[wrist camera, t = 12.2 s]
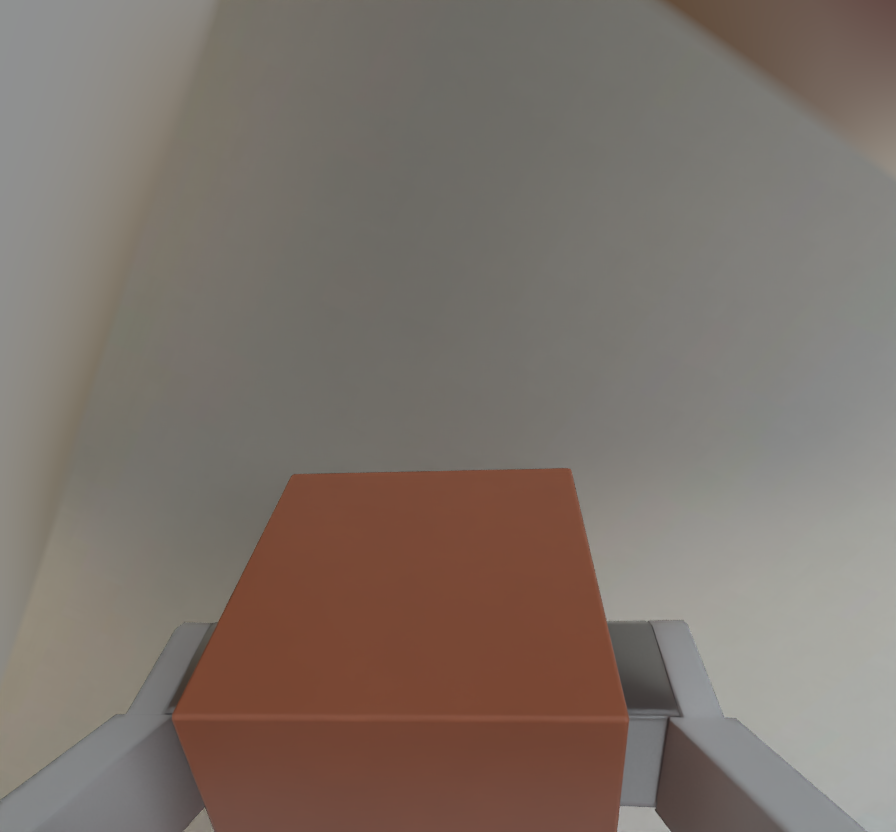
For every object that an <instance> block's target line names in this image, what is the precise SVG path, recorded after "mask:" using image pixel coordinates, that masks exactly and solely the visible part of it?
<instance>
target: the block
mask: <svg viewBox="0 0 896 832" xmlns="http://www.w3.org/2000/svg"><path fill="white" fill-rule="evenodd" d="M172 722H173V725H174V727H175V730H176V732H177V735H178V738H179V740H180V743H181V745H182V748H183V751H184V753H185V756H186V759H187V761H188V764H189V766H190V769H191V772H192V774H193V777H194V779H195V782H196V785H197V787H198V790H199V792H200V795H201V798H202V800H203V803H204V805H205V808H206V811H207V813H208V816H209V819H210V821H211V824H212V826H213V829H214V832H617V826H618V817H619V808H620V799H621V790H622V781H623V772H624V764H625V755H626V746H627V737H628V728H629V715H628V711H627V706H626V702H625V698H624V693H623V689H622V685H621V681H620V676H619V672H618V668H617V663H616V659H615V655H614V651H613V646H612V642H611V638H610V634H609V629H608V625H607V621H606V616H605V612H604V608H603V604H602V599H601V595H600V591H599V586H598V582H597V578H596V574H595V569H594V565H593V561H592V557H591V552H590V548H589V544H588V539H587V535H586V531H585V527H584V522H583V518H582V514H581V509H580V505H579V501H578V497H577V492H576V488H575V484H574V480H573V475H572V471H571V469H569V468H553V469H508V470H462V471H416V472H370V473H324V474H294V475H292V476H291V477H290V479H289V481H288V483H287V485H286V487H285V489H284V491H283V493H282V495H281V497H280V499H279V501H278V503H277V505H276V507H275V509H274V511H273V513H272V515H271V517H270V519H269V521H268V523H267V525H266V527H265V529H264V531H263V533H262V535H261V537H260V539H259V541H258V543H257V545H256V547H255V549H254V551H253V553H252V555H251V557H250V559H249V561H248V563H247V565H246V567H245V569H244V571H243V573H242V575H241V577H240V579H239V581H238V583H237V585H236V587H235V589H234V591H233V593H232V595H231V597H230V599H229V601H228V603H227V606H226V608H225V610H224V612H223V614H222V616H221V618H220V620H219V622H218V624H217V626H216V628H215V630H214V632H213V634H212V636H211V638H210V640H209V642H208V644H207V646H206V648H205V650H204V652H203V654H202V656H201V658H200V660H199V662H198V664H197V666H196V668H195V670H194V672H193V674H192V676H191V678H190V680H189V682H188V684H187V686H186V688H185V690H184V692H183V694H182V696H181V698H180V700H179V702H178V704H177V706H176V708H175V710H174V712H173V714H172Z"/></svg>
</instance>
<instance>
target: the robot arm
mask: <svg viewBox="0 0 896 832" xmlns="http://www.w3.org/2000/svg"><path fill="white" fill-rule="evenodd" d="M217 624H218V622H215V623H197V622H184V623H182V624H181V625H180V626H179V627H177V628H176V629H175V630H174V632H173V634H172V635H171V637H170V639H169V641H168V642H167V644H166V646H165V647H164V649H163V651H162V653H161V654H160V656H159V658H158V660H157V661H156V663H155V665H154V666H153V668H152V670H151V672H150V673H149V675H148V677H147V679H146V680H145V682H144V684H143V685H142V687H141V689H140V691H139V692H138V694H137V696H136V698H135V699H134V701H133V703H132V704H131V706H130V708H129V710H128V711H127V713H126V714H116V715H114V716H113V717H112V718H110V719H109V720H108V721H106V722H105V723H104V724H102V725H101V726H100V727H98V728H97V729H96V730H94V731H93V732H91V733H90V734H89V735H87V736H86V737H85V738H83V739H82V740H81V741H79V742H78V743H77V744H75V745H74V746H73V747H71V748H70V749H69V750H67V751H66V752H65V753H63V754H62V755H60V756H59V757H58V758H56V759H55V760H54V761H52V762H51V763H50V764H48V765H47V766H46V767H44V768H43V769H42V770H40V771H39V772H38V773H36V774H35V775H33V776H32V777H31V778H29V779H28V780H27V781H25V782H24V783H23V784H21V785H20V786H19V787H17V788H16V789H15V790H13V791H12V792H11V793H9V794H8V795H6V796H5V797H4V798H2V799H1V800H0V832H183V831H184V830H185V828H186V827H187V826H188V825H189V824H190V823H191V822H192V821H193V819H194V818H195V817H196V816H197V815H198V814H199V813H200V812H201V810H202V809H203V808H204V807H205V805H204V803H203V800H202V798H201V795H200V792H199V790H198V787H197V785H196V782H195V779H194V777H193V774H192V772H191V769H190V766H189V764H188V761H187V759H186V756H185V753H184V751H183V748H182V745H181V743H180V740H179V738H178V735H177V732H176V730H175V727H174V725H173V722H172V714H173V712H174V710H175V708H176V706H177V704H178V702H179V700H180V698H181V696H182V694H183V692H184V690H185V688H186V686H187V684H188V682H189V680H190V678H191V676H192V674H193V672H194V670H195V668H196V666H197V664H198V662H199V660H200V658H201V656H202V654H203V652H204V650H205V648H206V646H207V644H208V642H209V640H210V638H211V636H212V634H213V632H214V630H215V628H216V626H217ZM607 625H608V629H609V634H610V638H611V642H612V646H613V651H614V655H615V659H616V663H617V668H618V672H619V676H620V681H621V685H622V689H623V693H624V698H625V702H626V706H627V711H628V715H629V728H628V737H627V746H626V755H625V764H624V772H623V781H622V790H621V799H620V806H637V807H656V809H655V811H656V812H657V814H658V815H659V816H660V817H661V819H662V820H663V821H664V823H665V824H666V825H667V827H668V828H669V829H670V831H671V832H867V831H866V830H865V829H864V828H863V827H861V826H860V825H859V824H858V823H857V822H856V821H855V820H853V819H852V818H851V817H850V816H849V815H848V814H846V813H845V812H844V811H843V810H842V809H841V808H839V807H838V806H837V805H836V804H835V803H834V802H832V801H831V800H830V799H829V798H828V797H827V796H826V795H824V794H823V793H822V792H821V791H820V790H819V789H817V788H816V787H815V786H814V785H813V784H812V783H810V782H809V781H808V780H807V779H806V778H805V777H804V776H802V775H801V774H800V773H799V772H798V771H797V770H795V769H794V768H793V767H792V766H791V765H790V764H788V763H787V762H786V761H785V760H784V759H783V758H781V757H780V756H779V755H778V754H777V753H776V752H775V751H773V750H772V749H771V748H770V747H769V746H768V745H766V744H765V743H764V742H763V741H762V740H761V739H759V738H758V737H757V736H756V735H755V734H754V733H753V732H751V731H750V730H749V729H748V728H747V727H746V726H744V725H743V724H742V723H741V722H740V721H739V720H737V719H736V718H724V715H723V713H722V710H721V708H720V705H719V702H718V700H717V697H716V695H715V692H714V690H713V687H712V685H711V682H710V679H709V677H708V674H707V672H706V669H705V667H704V664H703V662H702V659H701V656H700V654H699V651H698V649H697V646H696V644H695V641H694V639H693V636H692V634H691V631H690V628H689V626H688V625H687V624H686V623H685V622H684V620H656V621H648V622H647V621H607Z"/></svg>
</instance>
